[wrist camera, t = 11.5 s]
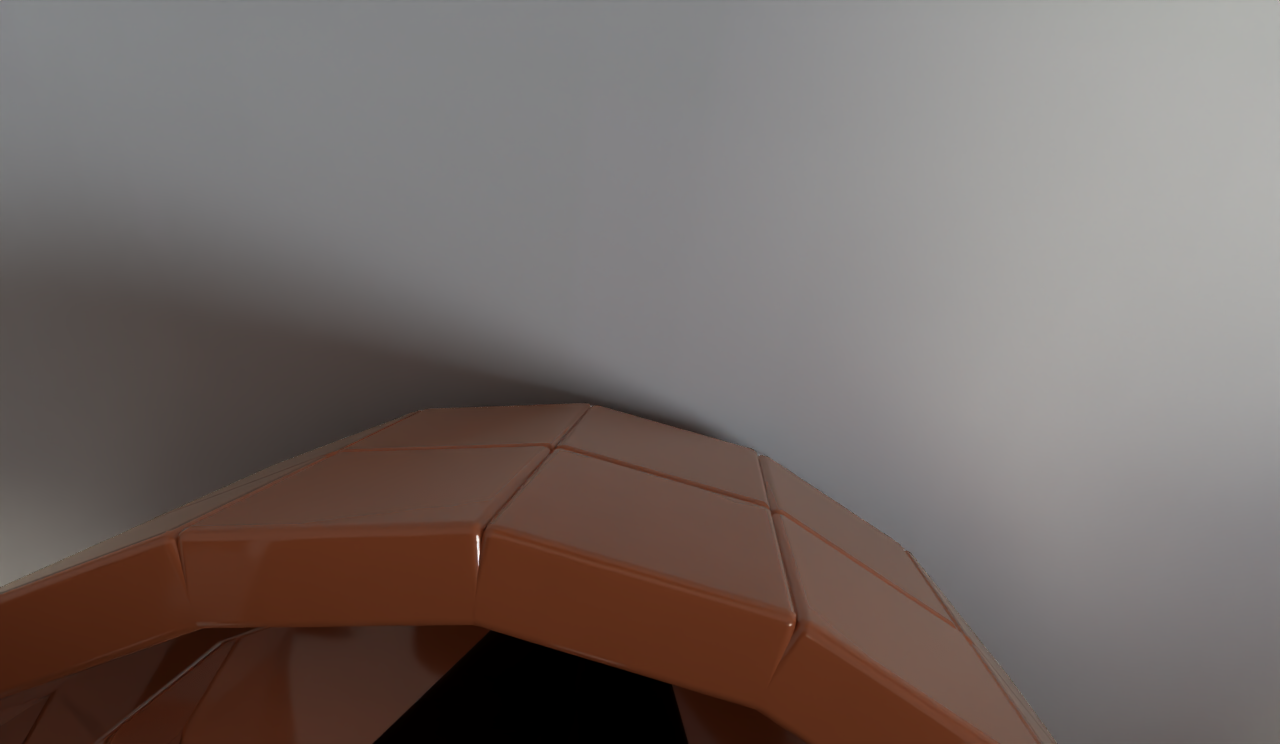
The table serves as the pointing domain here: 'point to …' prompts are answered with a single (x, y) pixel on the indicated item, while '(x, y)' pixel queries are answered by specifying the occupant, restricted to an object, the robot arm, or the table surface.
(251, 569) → the flower pot
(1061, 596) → the table surface
